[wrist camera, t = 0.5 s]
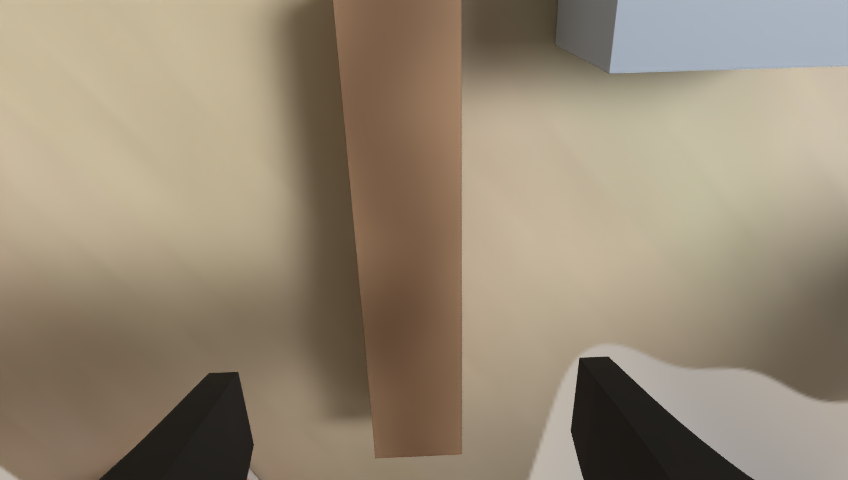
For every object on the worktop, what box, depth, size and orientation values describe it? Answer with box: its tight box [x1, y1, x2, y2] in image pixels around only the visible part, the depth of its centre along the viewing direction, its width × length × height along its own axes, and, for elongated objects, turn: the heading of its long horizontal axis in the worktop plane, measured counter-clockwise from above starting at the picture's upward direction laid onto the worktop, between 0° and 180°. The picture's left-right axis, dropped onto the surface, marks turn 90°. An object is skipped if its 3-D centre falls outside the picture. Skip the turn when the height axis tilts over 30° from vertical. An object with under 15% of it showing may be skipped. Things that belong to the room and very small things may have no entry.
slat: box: [333, 0, 462, 458], centre depth 19 cm, size 3×16×4 cm, turn 2°
